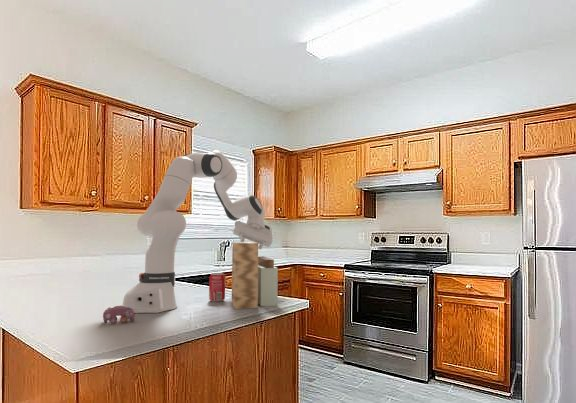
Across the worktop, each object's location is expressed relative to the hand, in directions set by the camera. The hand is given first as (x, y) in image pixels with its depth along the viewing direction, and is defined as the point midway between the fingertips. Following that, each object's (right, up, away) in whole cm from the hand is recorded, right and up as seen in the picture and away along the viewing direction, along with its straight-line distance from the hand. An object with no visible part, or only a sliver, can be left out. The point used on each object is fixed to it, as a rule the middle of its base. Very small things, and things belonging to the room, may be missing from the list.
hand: (251, 244), depth 192 cm
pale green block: (+8, -23, -21) cm, 32 cm away
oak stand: (0, -22, -28) cm, 36 cm away
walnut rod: (+8, -7, -17) cm, 20 cm away
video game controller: (-39, -20, -60) cm, 74 cm away
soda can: (-14, -23, -17) cm, 32 cm away
